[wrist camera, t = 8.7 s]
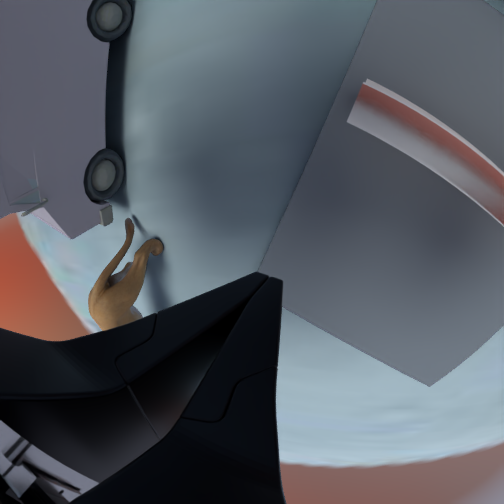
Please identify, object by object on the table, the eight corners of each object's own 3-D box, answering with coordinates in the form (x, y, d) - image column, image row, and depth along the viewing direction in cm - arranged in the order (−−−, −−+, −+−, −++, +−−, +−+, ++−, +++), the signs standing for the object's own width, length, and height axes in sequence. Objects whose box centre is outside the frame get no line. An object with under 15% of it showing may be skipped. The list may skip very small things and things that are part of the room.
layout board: (395, -44, 5) (395, -47, 5) (607, 142, 3) (610, 143, 2) (251, 285, 18) (249, 288, 17) (429, 383, 15) (429, 387, 15)
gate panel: (535, 215, 7) (576, 259, 4) (523, 236, 8) (558, 285, 5) (368, 92, 9) (363, 82, 6) (356, 118, 10) (346, 121, 7)
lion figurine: (210, 361, 25) (155, 432, 18) (169, 348, 27) (116, 408, 20) (155, 212, 19) (49, 280, 12) (113, 217, 21) (25, 271, 14)
